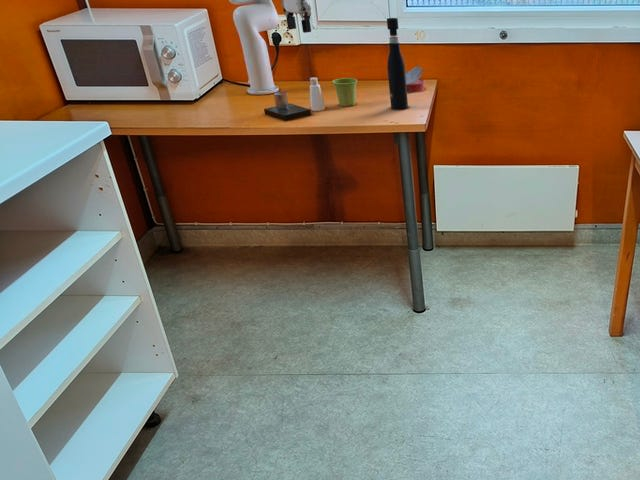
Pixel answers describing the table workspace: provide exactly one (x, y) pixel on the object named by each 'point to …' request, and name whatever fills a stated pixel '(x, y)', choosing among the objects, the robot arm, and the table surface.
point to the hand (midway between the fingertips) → (299, 30)
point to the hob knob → (281, 100)
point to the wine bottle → (396, 69)
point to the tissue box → (414, 80)
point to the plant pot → (346, 91)
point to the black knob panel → (288, 112)
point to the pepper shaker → (316, 96)
